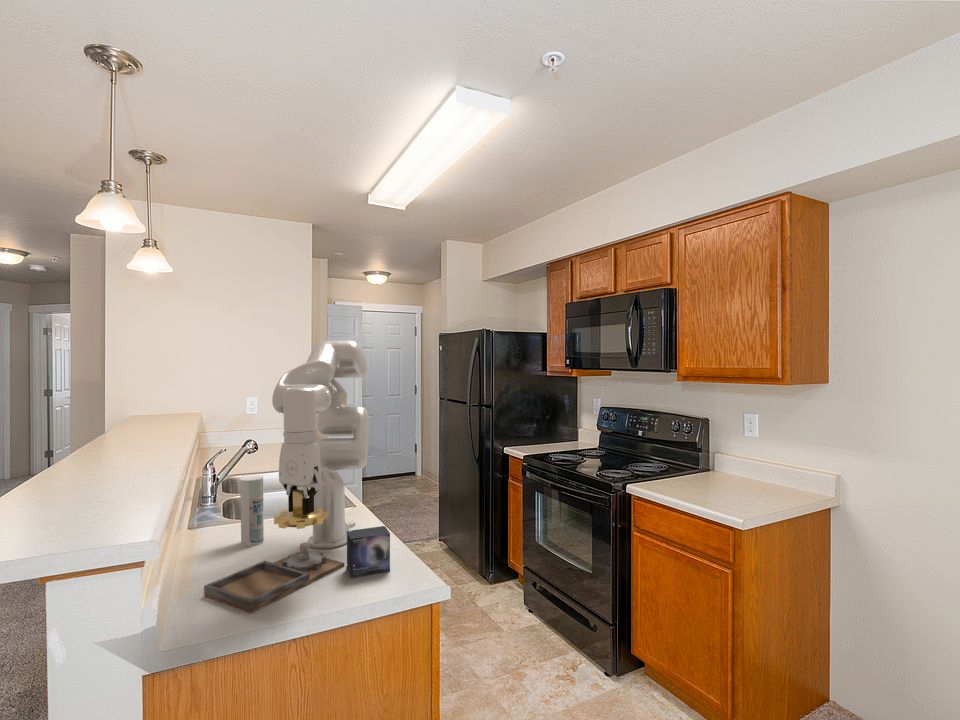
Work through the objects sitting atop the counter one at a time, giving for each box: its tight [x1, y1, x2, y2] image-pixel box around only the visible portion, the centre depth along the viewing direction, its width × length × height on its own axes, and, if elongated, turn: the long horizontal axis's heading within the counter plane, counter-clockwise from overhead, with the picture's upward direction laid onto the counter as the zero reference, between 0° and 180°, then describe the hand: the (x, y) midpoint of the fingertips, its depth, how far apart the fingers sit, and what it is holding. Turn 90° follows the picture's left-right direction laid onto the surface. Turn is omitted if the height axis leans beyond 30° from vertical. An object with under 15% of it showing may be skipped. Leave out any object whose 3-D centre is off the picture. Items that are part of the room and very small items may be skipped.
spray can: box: [239, 475, 265, 547], centre depth 159 cm, size 6×6×20 cm
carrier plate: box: [203, 542, 345, 614], centre depth 133 cm, size 29×17×6 cm, turn 150°
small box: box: [346, 525, 391, 578], centre depth 138 cm, size 11×6×10 cm, turn 114°
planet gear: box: [273, 487, 328, 530], centre depth 128 cm, size 12×12×8 cm
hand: (301, 511), depth 128 cm, fingers closed on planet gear, 4 cm apart
